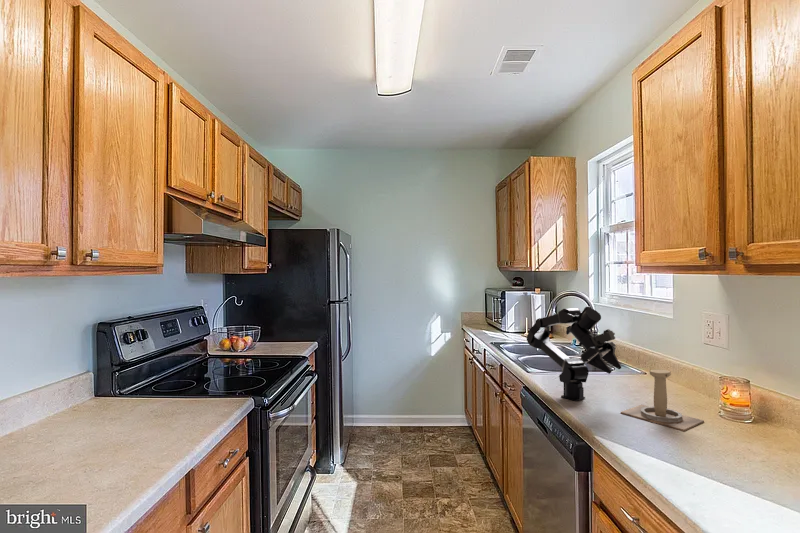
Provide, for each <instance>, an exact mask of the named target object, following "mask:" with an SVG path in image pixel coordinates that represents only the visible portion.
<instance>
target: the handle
mask: <svg viewBox="0 0 800 533" xmlns="http://www.w3.org/2000/svg"><path fill="white" fill-rule="evenodd" d="M649 375H650V376H652V377H653V378H654V386H653V406H654V409H655V415H656V416H660V417H665V416H666V411H667V408H668V393H667V378H669V377H671V375H672V373H671V371H670V370H667V369H651V370H649Z"/></svg>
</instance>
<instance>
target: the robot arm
mask: <svg viewBox="0 0 800 533" xmlns="http://www.w3.org/2000/svg"><path fill="white" fill-rule="evenodd" d="M601 319H602V316H601V314H600V313H599V312H598V311H597V310H596V309H593V308H592V307H591V306H585V307H584V308H583V309H582V311H581V310H580V308H577V307H574V308H563V309H561V310H559V311H557V313H555V314H551V315H548V316H545V317H541V318H537V319H536V320H535V322H534V324H533V325H532V326H531V327H530V328H529V330H528V333H527V336H526V342H527V344H528V345H529V346H531V347H532V348H534V349H538V350H541V351H542V352H543V353H545V354H546V355H547V356H548V357H549V358H550V359H551V360H552V361H553V362H555V363H556V364H557V365H558V366H559V367H560V368H561V373H560V374H559V376H558V378H559V381H560V383H563V394H562V395H560V397H561V398H564V399H567V400H570V401H573V402H577V401H581V400H584V399H586V396H584V395H585V394H584V386H583V383H587V381H588V377H589V368H588V366H587V365H586V364H588V365H591V366H592V367H595V368H597V369H599V370H601V371H603V372H604V373H607V374H609V375H610V374H611V373H612V370H611V368H610V367H609V366H608V364H610V365H611V366H612V367H615V368H616V369H618V370H621V369H622V366H621V363H620V362H619V360H618V358H617V356H616V354H615V353H616V347H617V345H616V344H615V343H614V342H613V340H616V337H615V335H616V333H615V332H614V331H613V330H611V329H610V328H608V329H605V330H603V333H600V334H598V333H595V332H592V331H591V330H592V329H593V328H595V327H596V325H598V323H599V322H600V321H601ZM560 324H571V325H569V326H566V327H565V329H566V331H565V333H566V335H569V334H572V335H573V337H574V338H575V339H576V340H577V341H578V342H579V343H578V345H579V347H583V348H584V349H585V351H584V352H582V354H580V358H579V357H569V356H568V355H567V354H565V353H564V352H563V351H561V349H559V348H558V347H557V346H556V345H555V344H553V343H552V342H551V340H550V339H551V338H550V335H551V333H550V327H551V326H556V325H560ZM542 328H543V329H544V330H543V331H539V330H541V329H542ZM606 362H607V363H608V364H607V363H606Z"/></svg>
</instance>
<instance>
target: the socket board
mask: <svg viewBox="0 0 800 533" xmlns="http://www.w3.org/2000/svg"><path fill="white" fill-rule="evenodd" d="M620 414H622V415H625V416H628V417H632V418H635V419H639V420H643V421H647V422H649V421H650V423H653V422H654V424H656V423H657V425H660V426H663V425H664V427H667V428H670V429H674V430H678V431H682V432H685V431H687V430H690V429H692V428H694V427H696V426H697V427H698V426H699V425H701V424H703V423H705V419H704V420H703V419H700V418H696V417H692V416H687V415H684V414H682V413H681V412H680V411H677V410H674V409H671V408H668V407H667V411H666V416H665V417H660V416H656V415H655V409H654V405H653V406H649V405H645V404H640V405H637V406H634V407H631V408H628V409H624V410H621V411H620Z"/></svg>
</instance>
